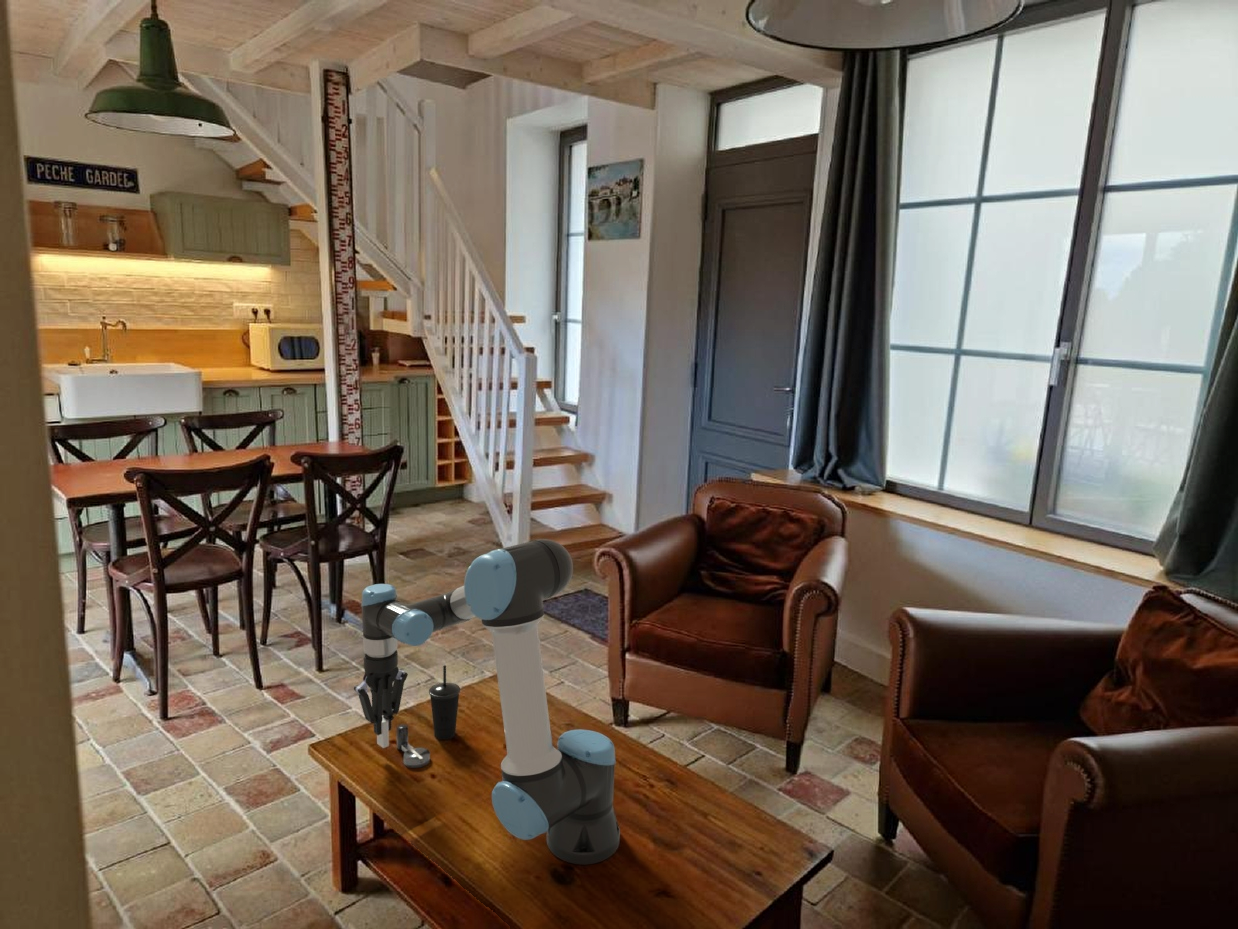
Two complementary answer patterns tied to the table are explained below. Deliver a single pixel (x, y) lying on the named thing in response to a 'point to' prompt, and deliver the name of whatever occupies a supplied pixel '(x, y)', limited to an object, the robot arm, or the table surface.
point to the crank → (411, 750)
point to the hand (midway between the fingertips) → (383, 744)
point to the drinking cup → (444, 708)
